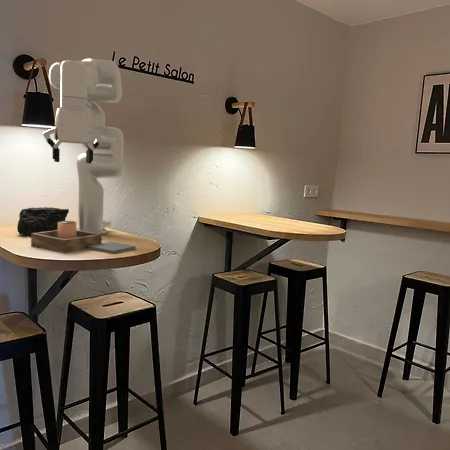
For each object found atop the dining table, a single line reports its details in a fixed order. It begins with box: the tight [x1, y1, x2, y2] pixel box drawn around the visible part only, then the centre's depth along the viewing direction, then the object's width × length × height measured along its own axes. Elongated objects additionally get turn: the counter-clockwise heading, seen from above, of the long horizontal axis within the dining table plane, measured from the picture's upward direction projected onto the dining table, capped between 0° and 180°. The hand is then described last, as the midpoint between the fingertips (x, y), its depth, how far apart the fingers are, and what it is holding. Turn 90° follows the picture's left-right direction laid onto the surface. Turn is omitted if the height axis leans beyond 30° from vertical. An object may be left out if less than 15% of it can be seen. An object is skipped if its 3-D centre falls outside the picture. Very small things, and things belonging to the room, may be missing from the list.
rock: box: [16, 206, 70, 236], centre depth 173 cm, size 18×10×15 cm
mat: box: [87, 241, 137, 255], centre depth 152 cm, size 11×11×1 cm
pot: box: [58, 220, 78, 239], centre depth 152 cm, size 6×6×8 cm
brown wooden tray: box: [30, 230, 103, 253], centre depth 153 cm, size 16×16×4 cm
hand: (73, 162), depth 136 cm, fingers open, 9 cm apart
